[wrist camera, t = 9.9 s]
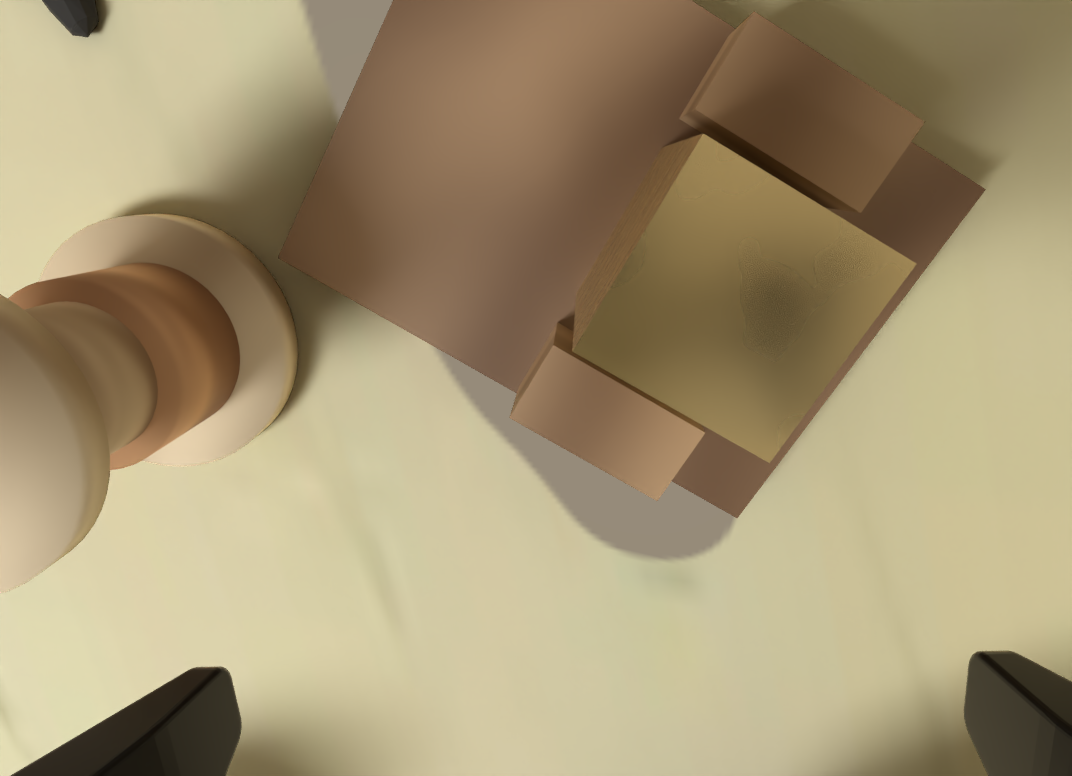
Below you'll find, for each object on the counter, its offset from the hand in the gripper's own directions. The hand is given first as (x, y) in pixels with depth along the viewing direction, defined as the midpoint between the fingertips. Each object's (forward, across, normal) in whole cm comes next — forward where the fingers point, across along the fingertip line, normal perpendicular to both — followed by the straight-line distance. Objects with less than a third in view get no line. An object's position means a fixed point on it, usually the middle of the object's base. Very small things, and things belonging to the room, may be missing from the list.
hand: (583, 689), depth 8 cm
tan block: (+10, -3, -4) cm, 11 cm away
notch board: (+12, -1, -5) cm, 13 cm away
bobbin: (+12, +12, -2) cm, 17 cm away
